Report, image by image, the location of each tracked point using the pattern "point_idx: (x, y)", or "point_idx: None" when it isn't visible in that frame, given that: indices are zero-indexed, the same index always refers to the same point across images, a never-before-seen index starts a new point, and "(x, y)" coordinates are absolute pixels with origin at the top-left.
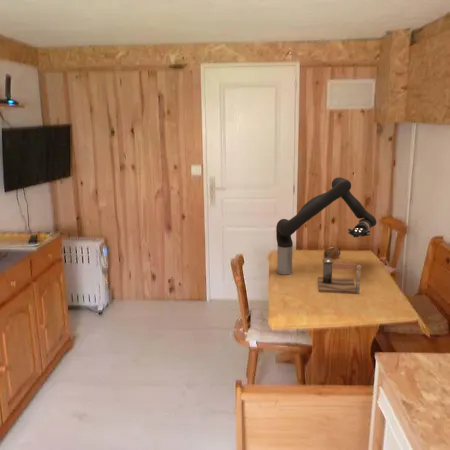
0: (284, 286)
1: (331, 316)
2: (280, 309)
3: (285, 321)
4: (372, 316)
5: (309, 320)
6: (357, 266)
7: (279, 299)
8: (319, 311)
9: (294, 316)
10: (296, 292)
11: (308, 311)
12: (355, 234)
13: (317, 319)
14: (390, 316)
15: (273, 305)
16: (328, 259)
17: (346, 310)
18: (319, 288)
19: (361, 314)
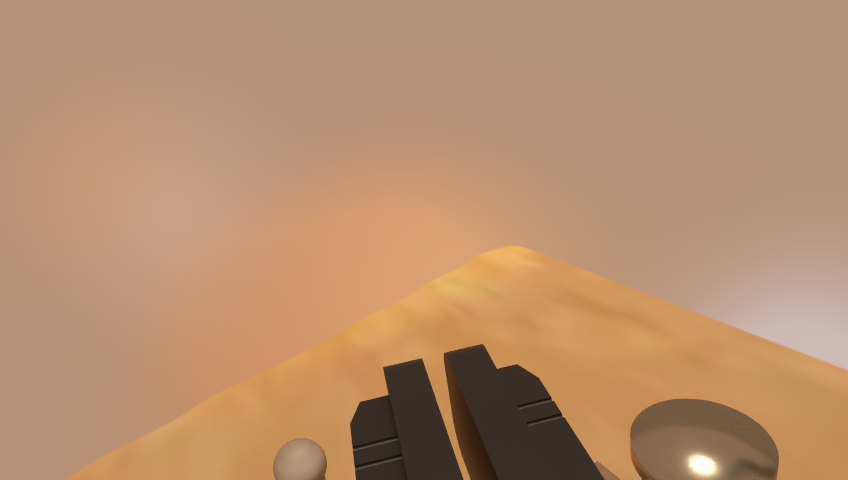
0: (824, 410)
1: (372, 336)
2: (563, 280)
3: (484, 257)
4: (207, 419)
5: (426, 289)
6: (309, 439)
7: (650, 314)
8: (434, 336)
9: (485, 280)
10: (680, 396)
11: (470, 317)
12: (454, 393)
13: (406, 303)
14: (114, 466)
15: (611, 281)
16: (709, 451)
17: (335, 397)
18: (606, 473)
19: (259, 407)
